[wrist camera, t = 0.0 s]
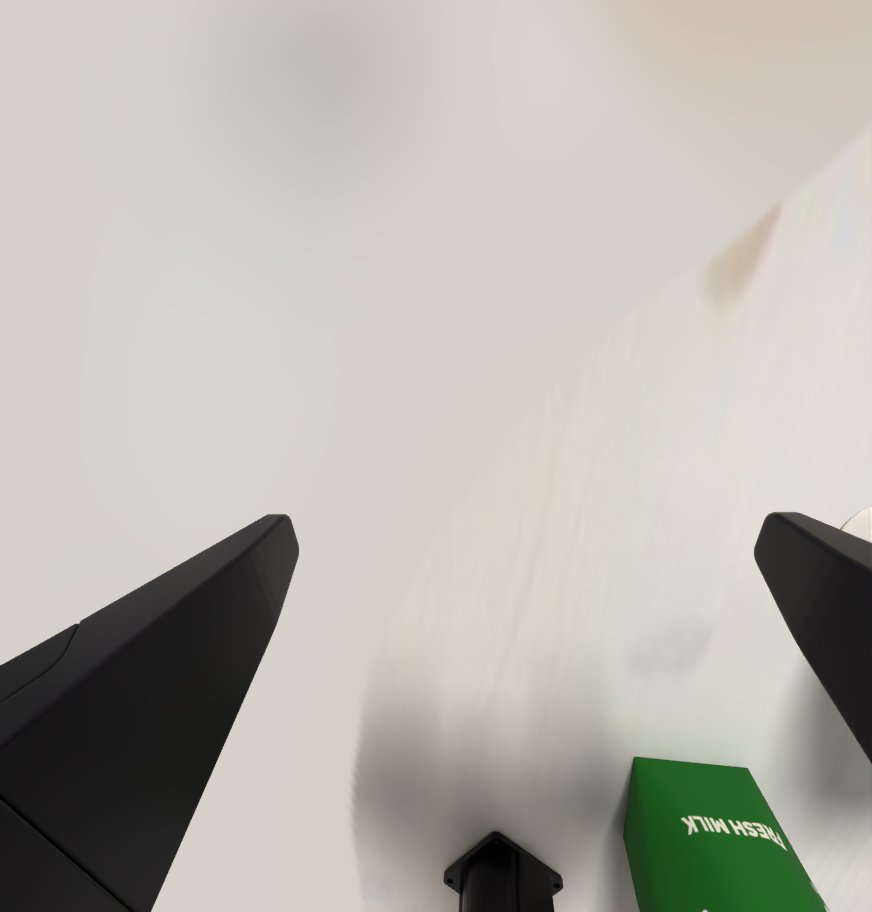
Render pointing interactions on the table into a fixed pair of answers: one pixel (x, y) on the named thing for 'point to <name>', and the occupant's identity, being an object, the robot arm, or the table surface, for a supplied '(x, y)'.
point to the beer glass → (860, 524)
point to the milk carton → (709, 843)
